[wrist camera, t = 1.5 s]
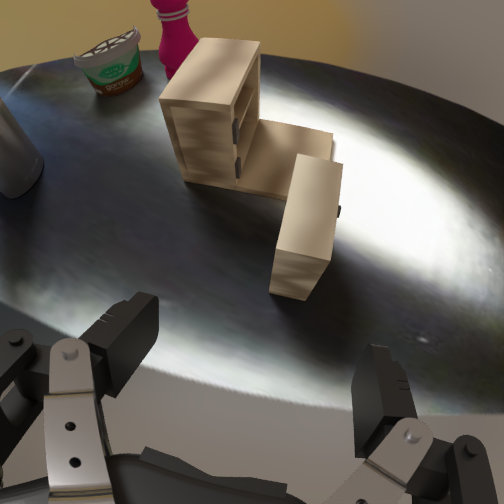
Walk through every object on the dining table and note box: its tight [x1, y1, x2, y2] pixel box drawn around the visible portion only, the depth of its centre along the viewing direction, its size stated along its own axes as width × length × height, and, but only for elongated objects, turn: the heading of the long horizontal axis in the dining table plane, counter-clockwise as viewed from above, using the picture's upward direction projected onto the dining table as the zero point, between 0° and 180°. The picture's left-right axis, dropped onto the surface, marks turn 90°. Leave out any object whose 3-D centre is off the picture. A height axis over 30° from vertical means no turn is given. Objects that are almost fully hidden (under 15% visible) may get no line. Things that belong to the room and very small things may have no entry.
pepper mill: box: [150, 0, 199, 80], centre depth 39 cm, size 7×7×20 cm
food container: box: [74, 26, 143, 97], centre depth 43 cm, size 12×6×10 cm, turn 125°
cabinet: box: [159, 38, 333, 201], centre depth 34 cm, size 18×12×14 cm
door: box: [269, 153, 343, 301], centre depth 30 cm, size 5×9×12 cm, turn 166°
